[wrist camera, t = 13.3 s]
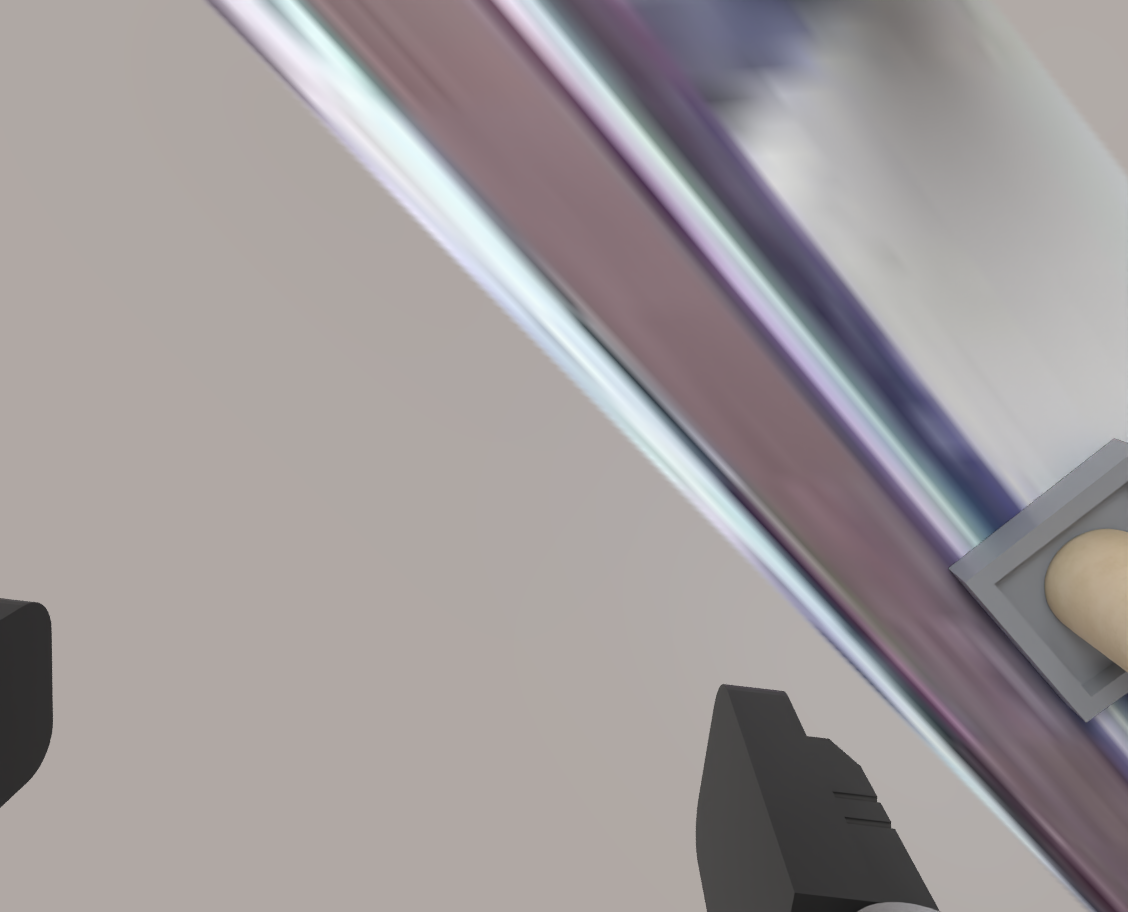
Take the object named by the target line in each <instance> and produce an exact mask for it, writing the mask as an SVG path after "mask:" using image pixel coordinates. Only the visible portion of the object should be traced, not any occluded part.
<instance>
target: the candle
mask: <svg viewBox="0 0 1128 912" xmlns="http://www.w3.org/2000/svg"><path fill="white" fill-rule="evenodd" d="M1044 584H1045V596H1046V600H1047V603H1048V605H1049V607H1050V609H1051V610H1052V612H1053V613H1054V615H1055V616H1056V617H1057V618H1058V619H1059V620H1060V622H1062V623H1063V624H1064V625H1065V626H1067V627H1068V628H1069V629H1070V630H1072V631H1073V632H1074V633H1075V634H1077V635H1078V636H1079V637H1081V638H1082V639H1083V640H1085V641H1086V642H1087V643H1089V644H1090V645H1091V646H1093V647H1094V648H1096V649H1097V650H1098V651H1100V652H1101V653H1102V654H1104V655H1105V656H1106V657H1108V658H1109V659H1110V660H1112V661H1113V662H1114V663H1116V664H1117V665H1118V666H1120V667H1121V668H1122V669H1124V670H1125V671H1126V672H1128V532H1125V531H1121V530H1116V529H1097V530H1092V531H1088V532H1085V533H1083V534H1080V535H1078V536H1076V537H1075V538H1073V539H1071V540H1070V541H1069V542H1067V543H1066V544H1065V545H1064V546H1063V547H1062V548H1061V549H1060V550H1059V551H1058V552H1057V553H1056V555H1055V556H1054V557H1053V559H1052V561H1051V562H1050V564H1049V567H1048V569H1047V573H1046V576H1045V583H1044Z"/></svg>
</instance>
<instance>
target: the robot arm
mask: <svg viewBox="0 0 1128 912" xmlns="http://www.w3.org/2000/svg"><path fill="white" fill-rule="evenodd" d="M51 636H52V633H51V620H50V616H49V614H48V611H47V609H46V608H45V607H44V606H43V605H42V604H40V603H36V602H28V601H20V600H11V599H3V598H0V807H1V806H2V805H4V804H5V802H7V801H8V800H9V799H10V798H11V797H12V796H13V795H14V794H15V793H16V792H17V791H18V790H20V789H21V788H22V787H23V786H24V785H25V784H26V783H27V782H28V781H29V780H30V779H31V778H32V777H33V775H34V774H35V773H36V771H37V770H38V768H39V767H40V765H41V763H42V761H43V759H44V757H45V754H46V752H47V749H48V746H49V743H50V739H51V735H52V728H53V707H52V706H53V704H52V703H53V702H52V637H51ZM696 851H697V860H698V865H699V871H700V876H701V880H702V887H703V892H704V897H705V902H706V908H707V912H940V911H939V909H938V907H937V906H936V904H935V902H934V900H933V898H932V896H931V894H930V893H929V891H928V889H927V887H926V885H925V884H924V882H923V880H922V878H921V876H920V874H919V872H918V871H917V869H916V867H915V865H914V863H913V862H912V860H911V858H910V856H909V854H908V852H907V851H906V849H905V847H904V845H903V843H902V841H901V839H900V838H899V836H898V834H897V832H896V830H895V829H891V821H890V819H889V817H888V816H887V814H886V812H885V810H884V808H883V806H882V805H881V803H878V802H877V796H876V794H875V792H874V790H873V788H872V786H871V784H870V783H869V781H868V779H867V777H866V775H865V773H864V772H863V770H862V768H861V766H860V765H858V764H857V763H856V762H855V761H854V760H853V759H851V758H850V757H849V756H848V755H847V754H846V753H845V752H843V751H842V750H841V749H840V748H839V747H838V746H837V745H835V744H834V743H833V742H832V741H831V740H830V739H825V738H817V737H808V736H806V734H805V731H804V729H803V727H802V725H801V723H800V721H799V719H798V717H797V714H796V712H795V710H794V708H793V706H792V704H791V702H790V700H789V697H788V696H787V694H786V693H785V692H784V691H777V690H769V689H760V688H752V687H743V686H734V685H726V684H722V685H721V686H720V688H719V690H718V692H717V695H716V699H715V705H714V710H713V716H712V722H711V728H710V733H709V740H708V746H707V751H706V758H705V763H704V770H703V775H702V781H701V787H700V793H699V799H698V807H697V818H696Z"/></svg>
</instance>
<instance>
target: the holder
mask: <svg viewBox="0 0 1128 912" xmlns="http://www.w3.org/2000/svg"><path fill="white" fill-rule="evenodd" d="M1097 529H1116V530H1121V531H1125V532H1128V443H1126V442H1123V441H1120V440H1117V439H1113V440H1112V441H1110V442H1109V443H1108V444H1106V445H1105V446H1104V447H1103V448H1101V449H1100V450H1099V451H1098V452H1096V453H1095V454H1094V455H1092V456H1091V457H1090V458H1089V459H1087V460H1086V461H1085V462H1083V463H1082V464H1081V465H1080V466H1078V467H1077V468H1076V469H1075V470H1073V471H1072V472H1071V473H1069V474H1068V475H1067V476H1066V477H1064V478H1063V479H1062V480H1060V481H1059V482H1058V483H1057V484H1055V485H1054V486H1053V487H1052V488H1050V489H1049V490H1048V491H1046V492H1045V493H1044V494H1043V495H1041V496H1040V497H1039V498H1037V499H1036V500H1035V501H1034V502H1032V503H1031V504H1030V505H1029V506H1027V507H1026V508H1025V509H1023V510H1022V511H1021V512H1020V513H1018V514H1017V515H1016V516H1014V517H1013V518H1012V519H1011V520H1009V521H1008V522H1007V523H1006V524H1004V525H1003V526H1002V527H1000V528H999V529H998V530H997V531H995V532H994V533H993V534H991V535H990V536H989V537H988V538H986V539H985V540H984V541H983V542H981V543H980V544H979V545H977V546H976V547H975V548H974V549H972V550H971V551H970V552H969V553H967V554H966V555H965V556H963V557H962V558H961V559H960V560H958V561H957V562H956V563H954V564H953V565H952V566H951V567H949V568H948V569H949V570H950V571H951V572H952V573H953V574H954V575H955V577H956V578H957V579H958V580H959V581H960V582H961V584H962V585H963V586H964V587H965V588H966V589H967V590H968V592H969V593H970V594H971V595H972V596H973V597H974V599H975V600H976V601H977V602H978V603H979V604H980V605H981V607H982V608H983V609H984V610H985V611H986V612H987V614H988V615H989V616H990V617H991V618H992V619H993V621H994V622H995V623H996V624H997V625H998V626H999V627H1000V629H1001V630H1002V631H1003V632H1004V633H1005V634H1006V636H1007V637H1008V638H1009V639H1010V640H1011V641H1012V642H1013V644H1014V645H1015V646H1016V647H1017V648H1018V649H1019V651H1020V652H1021V653H1022V654H1023V655H1024V656H1025V657H1026V659H1027V660H1028V661H1029V662H1030V663H1031V664H1032V666H1033V667H1034V668H1035V669H1036V670H1037V671H1038V672H1039V674H1040V675H1041V676H1042V677H1043V678H1044V679H1045V681H1046V682H1047V683H1048V684H1049V685H1050V686H1051V687H1052V689H1053V690H1054V691H1055V692H1056V693H1057V694H1058V696H1059V697H1060V698H1061V699H1062V700H1063V701H1064V702H1065V704H1067V705H1068V706H1069V707H1070V708H1071V709H1072V710H1073V711H1074V712H1075V713H1076V714H1077V715H1078V716H1080V717H1081V718H1082V719H1083V720H1084V721H1085V722H1086V723H1087V722H1088V721H1089V720H1091V719H1092V718H1093V717H1095V716H1096V715H1098V714H1099V713H1100V712H1102V711H1103V710H1105V709H1106V708H1107V707H1109V706H1110V705H1111V704H1113V703H1114V702H1116V701H1117V700H1118V699H1120V698H1121V697H1122V696H1124V695H1125V694H1127V693H1128V672H1126V671H1125V670H1124V669H1122V668H1121V667H1120V666H1118V665H1117V664H1116V663H1114V662H1113V661H1112V660H1110V659H1109V658H1108V657H1106V656H1105V655H1104V654H1102V653H1101V652H1100V651H1098V650H1097V649H1096V648H1094V647H1093V646H1091V645H1090V644H1089V643H1087V642H1086V641H1085V640H1083V639H1082V638H1081V637H1079V636H1078V635H1077V634H1075V633H1074V632H1073V631H1072V630H1070V629H1069V628H1068V627H1067V626H1065V625H1064V624H1063V623H1062V622H1060V620H1059V619H1058V618H1057V617H1056V616H1055V615H1054V613H1053V612H1052V610H1051V609H1050V607H1049V605H1048V603H1047V600H1046V596H1045V584H1044V583H1045V576H1046V573H1047V569H1048V567H1049V564H1050V562H1051V561H1052V559H1053V557H1054V556H1055V555H1056V553H1057V552H1058V551H1059V550H1060V549H1061V548H1062V547H1063V546H1064V545H1065V544H1066V543H1067V542H1069V541H1070V540H1071V539H1073V538H1075V537H1076V536H1078V535H1080V534H1083V533H1085V532H1088V531H1092V530H1097Z"/></svg>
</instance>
